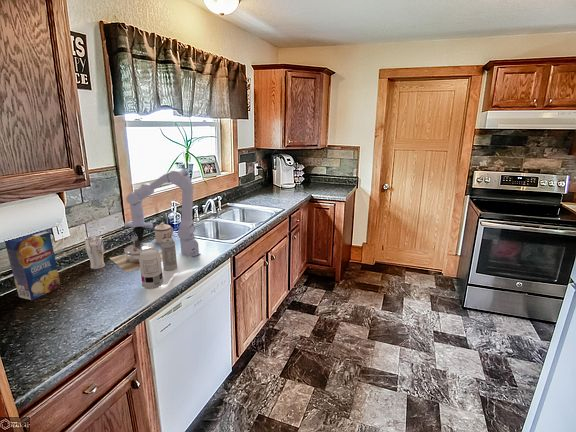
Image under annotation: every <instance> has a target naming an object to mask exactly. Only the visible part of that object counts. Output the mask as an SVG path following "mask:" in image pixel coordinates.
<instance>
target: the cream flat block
mask: <svg viewBox="0 0 576 432" xmlns="http://www.w3.org/2000/svg"><path fill="white" fill-rule="evenodd" d="M124 254H126V253H125V252H124ZM126 261H127V262H128V263H132V264H139V255H128V254H126Z"/></svg>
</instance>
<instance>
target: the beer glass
mask: <svg viewBox="0 0 576 432" xmlns="http://www.w3.org/2000/svg"><path fill="white" fill-rule="evenodd" d="M84 244H85V245H84V246H85V251H86V254H87V256H88V259H89V262H90V269H92V270H97V269H101V268H104V267H105V266H106V264H105V262H104V243H103V239H102V236H101V235H91V236H88V237H85V238H84Z"/></svg>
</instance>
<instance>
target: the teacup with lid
mask: <svg viewBox="0 0 576 432" xmlns="http://www.w3.org/2000/svg"><path fill="white" fill-rule="evenodd" d="M153 230H154V235H155V236H154V237H155V243H157V244H161V243H162V240H163V239H166V238H172V239H173V234H174V227H172V226H171V225H170V224H165V222H164V221H163V222H160V224H158V225H156V226H155V227H153Z"/></svg>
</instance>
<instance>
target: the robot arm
mask: <svg viewBox="0 0 576 432" xmlns="http://www.w3.org/2000/svg"><path fill="white" fill-rule="evenodd" d="M165 183H167V184H169V183H171V184H173V185H175V186H177V187H179V189H181V190H182V191H181V192H182V193H181V195H182V198H181V221H180V223H179V229H178V230H177V237H179V243H180V253H181V254H182V255H185V256H187V257H195V256H198V255H201V252H199V250H200V249H199V242H198V241H197V240H196V238H195V234H194V233H195V231H196V226H195V223H194V219H193V203H194V184H193V182H192V180H191V178H190V176H189V172H187V171H186V170H185V169H184V168H176V169H174V170H171V171H170V172H167V173H164V174H163V175H161V176H160V177H158V178H157V179H155V180H154V181H152V182H151V183H143V184H141V186H139V187H138V188H135V189H133V191H132V192H129V193H128V195H126V201H127V204H129V210H130V216H131V221H130V222H129V221H126V222H125V223H124V224H123V225H124V228H128V227H130V228H133V229H132V231H133V232H134V233H135V234H136V236H137V237H138V238H139V240H140V242H141V241H143V240H144V236H143V235H144V231H145V229H146V228H149V229H152V228H154V224H153V222H152V223H151V222H145V215H144V214H145V213H144V208H143V201H144V200H145V199H147V198H148V197H149V196H151V195H153V194H154V193H155V189H157V188H159V187H160V186H162V185H164V184H165Z"/></svg>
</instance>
